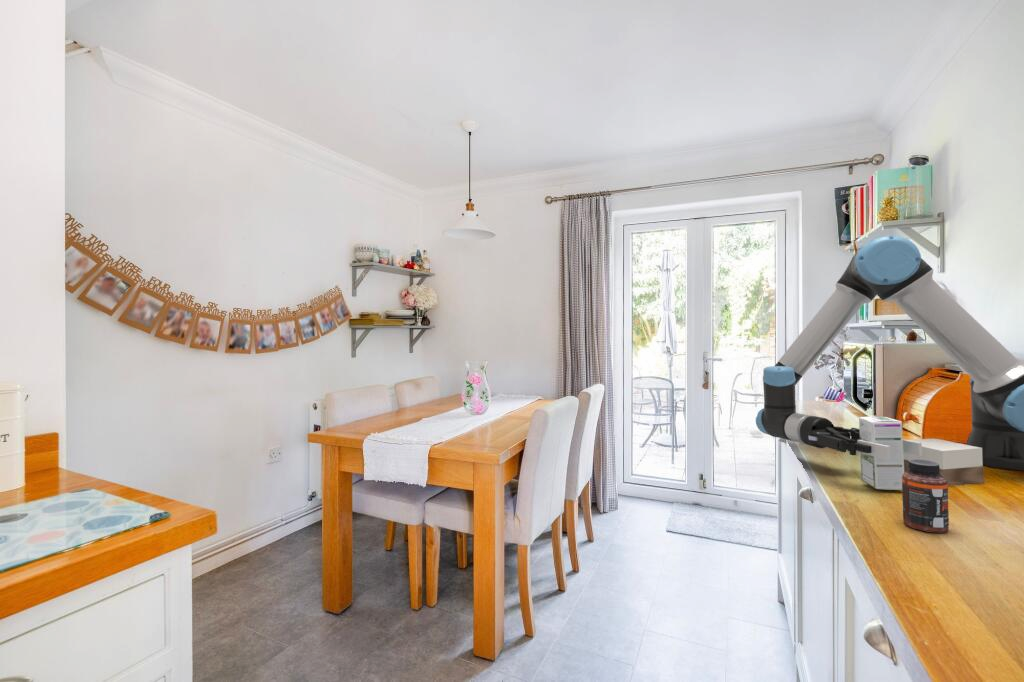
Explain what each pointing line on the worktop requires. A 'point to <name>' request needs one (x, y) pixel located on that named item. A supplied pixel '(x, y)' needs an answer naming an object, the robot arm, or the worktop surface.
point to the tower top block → (948, 454)
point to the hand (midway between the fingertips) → (904, 451)
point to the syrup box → (878, 469)
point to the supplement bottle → (925, 497)
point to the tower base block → (959, 475)
